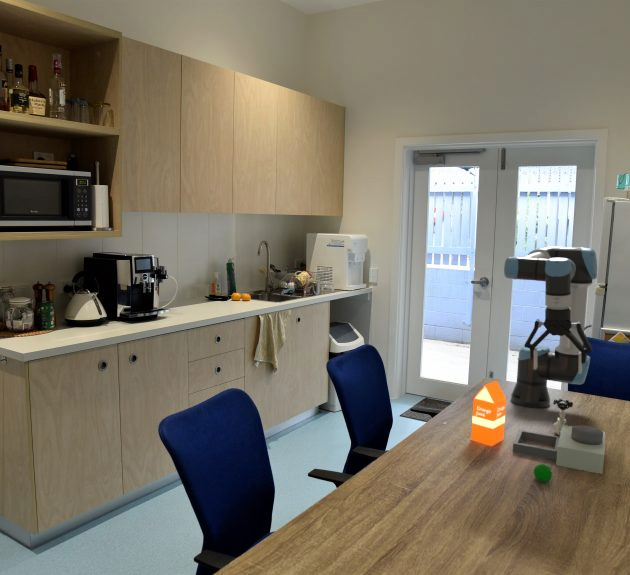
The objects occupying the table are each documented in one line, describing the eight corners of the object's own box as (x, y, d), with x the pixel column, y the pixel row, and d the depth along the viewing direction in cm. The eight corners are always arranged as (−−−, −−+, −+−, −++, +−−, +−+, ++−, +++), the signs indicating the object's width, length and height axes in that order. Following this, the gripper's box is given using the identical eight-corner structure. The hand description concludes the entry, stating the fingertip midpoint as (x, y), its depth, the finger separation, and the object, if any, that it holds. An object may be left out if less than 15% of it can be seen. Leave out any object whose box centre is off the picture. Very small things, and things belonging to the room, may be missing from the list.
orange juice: (503, 439, 204) (507, 382, 202) (491, 446, 198) (495, 387, 196) (482, 433, 210) (486, 377, 207) (470, 439, 203) (474, 382, 201)
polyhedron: (537, 475, 176) (539, 460, 176) (554, 481, 173) (555, 465, 172) (530, 480, 173) (531, 465, 172) (546, 486, 169) (547, 470, 169)
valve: (567, 432, 213) (569, 399, 212) (573, 439, 207) (576, 405, 205) (548, 431, 214) (550, 398, 212) (553, 437, 207) (556, 404, 206)
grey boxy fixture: (520, 434, 210) (521, 409, 209) (603, 449, 198) (605, 423, 197) (510, 456, 190) (512, 429, 189) (602, 474, 179) (605, 445, 177)
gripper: (514, 307, 194) (515, 369, 198) (600, 311, 181) (598, 378, 185) (519, 302, 200) (520, 362, 204) (602, 306, 188) (600, 370, 192)
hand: (557, 370), depth 195 cm, fingers open, 13 cm apart
